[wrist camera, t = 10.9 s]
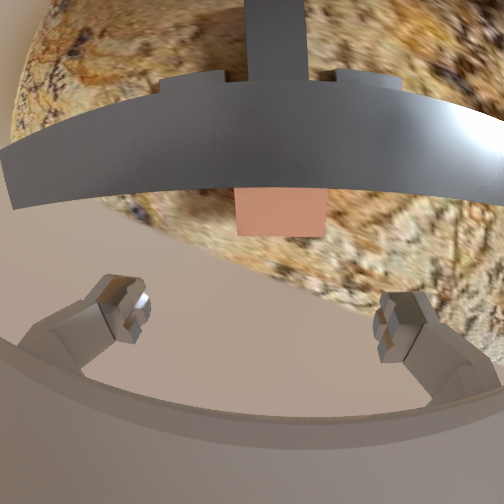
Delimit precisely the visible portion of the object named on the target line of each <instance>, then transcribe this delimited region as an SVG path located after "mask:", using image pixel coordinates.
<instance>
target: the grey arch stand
mask: <svg viewBox="0 0 504 504" xmlns="http://www.w3.org/2000/svg"><path fill="white" fill-rule="evenodd" d="M159 85H160V93H155V94H150V95H146V96H142V97H137V98H133V99H129V100H125V101H122V102H118V103H114V104H111V105H108V106H104V107H101V108H98V109H95V110H92V111H89V112H86V113H83V114H80V115H77V116H74V117H72V118H69V119H66V120H64V121H61V122H59V123H56V124H54V125H51V126H49V127H47V128H44V129H42V130H40V131H37V132H35V133H33V134H31V135H29V136H27V137H25V138H23V139H21V140H19V141H17V142H15V143H13V144H11V145H9V146H7V147H5V148H3V149H1V150H0V159H1V164H2V169H3V173H4V177H5V182H6V186H7V190H8V193H9V197H10V200H11V203H12V207H13V210H15V209H20V208H26V207H31V206H37V205H43V204H50V203H56V202H63V201H70V200H77V199H86V198H94V197H103V196H112V195H122V194H133V193H145V192H158V191H173V190H191V189H214V188H264V187H278V188H328V189H351V190H368V191H383V192H395V193H407V194H417V195H427V196H436V197H445V198H452V199H460V200H467V201H474V202H481V203H487V204H493V205H499V206H504V122H503V121H500V120H498V119H495V118H493V117H490V116H488V115H485V114H483V113H480V112H477V111H474V110H471V109H468V108H465V107H462V106H459V105H456V104H453V103H449V102H446V101H442V100H439V99H435V98H431V97H427V96H423V95H418V94H414V93H409V92H404V91H402V78H401V77H396V76H390V75H385V74H379V73H373V72H366V71H358V70H350V69H340V68H336V69H334V82H330V81H312V80H260V81H242V82H229V83H228V75H227V70H225V69H222V70H213V71H205V72H198V73H192V74H186V75H180V76H175V77H170V78H165V79H160V80H159Z"/></svg>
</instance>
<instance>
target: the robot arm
mask: <svg viewBox="0 0 504 504" xmlns="http://www.w3.org/2000/svg"><path fill="white" fill-rule="evenodd" d="M145 289H146V286H145V284H144V280H142V279H141V278H136V277H129V276H121V275H112V274H107V275H104V276H103V277H102V278H101V280H100V281H99V282H98V283H97V284H96V285H95V287H94V288H93V289H92V290H91V291H90V293H89V294H88V295H87V296H86V298H85V299H84V300H79V301H77V302H75V303H73V304H71V305H69V306H67V307H65V308H63V309H61V310H59V311H58V312H56V313H54V314H52V315H50V316H48V317H46V318H44V319H43V320H41V321H39V322H37V323H35V324H33V326H32V327H31V328H30V329H29V331H28V332H27V333H26V335H25V336H24V337H23V338H22V340H21V341H20V343H19V344H18V345H17V346H15V345H14V344H12V343H10V342H8V341H6V340H5V339H3V338H1V337H0V504H504V386H502V385H501V383H500V381H499V378H498V376H497V373H496V371H495V369H494V367H493V364H492V362H491V360H490V358H489V357H487V356H486V355H485V354H484V353H482V352H481V351H480V350H479V349H477V348H476V347H475V346H474V345H472V344H471V343H470V342H469V341H467V340H466V339H465V338H463V337H462V336H461V335H459V334H458V333H457V332H456V331H454V330H453V329H452V328H450V327H449V326H448V325H446V324H445V323H440V321H439V319H438V317H437V315H436V313H435V311H434V309H433V307H432V305H431V303H430V301H429V299H428V298H427V296H426V294H425V293H424V292H423V291H410V292H383V294H382V295H381V298H380V301H379V302H380V305H381V307H380V308H379V309H378V310H377V311H376V313H375V316H374V320H373V332H374V337H375V339H377V340H378V341H379V342H380V343H379V345H378V348H377V349H378V353H379V357H380V361H381V363H398V362H403V364H404V365H405V366H406V368H407V369H408V370H409V371H410V372H411V373H412V374H413V376H414V377H415V378H416V379H417V380H418V381H419V383H420V384H421V385H422V386H423V387H424V389H425V390H426V391H427V392H428V393H429V394H430V396H431V397H432V398H433V399H432V400H431V401H430V402H429V403H428V404H427V405H426V406H425V407H423V408H417V409H411V410H405V411H398V412H390V413H382V414H372V415H360V416H344V417H282V416H264V415H253V414H242V413H234V412H225V411H218V410H211V409H204V408H199V407H193V406H188V405H182V404H178V403H173V402H168V401H164V400H159V399H156V398H152V397H147V396H144V395H140V394H136V393H132V392H129V391H126V390H122V389H119V388H116V387H113V386H110V385H107V384H104V383H101V382H98V381H95V380H92V379H89V378H87V377H86V376H85V375H84V374H83V373H82V371H81V370H80V369H81V368H82V367H84V366H85V365H86V364H87V363H89V362H90V361H91V360H93V359H94V358H95V357H96V356H98V355H99V354H100V353H102V352H103V351H104V350H105V349H107V348H108V347H109V346H111V345H112V344H113V343H114V342H115V341H119V342H124V343H130V344H135V343H136V341H137V339H138V337H139V335H140V334H141V332H142V330H141V326H142V325H143V324H145V323H146V322H147V321H148V319H149V317H150V311H151V303H150V300H149V297H148V296H147V295H146V294H145V293H144V290H145Z"/></svg>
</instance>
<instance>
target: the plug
mask: <svg viewBox="0 0 504 504" xmlns="http://www.w3.org/2000/svg"><path fill="white" fill-rule="evenodd" d="M244 8H245V26H246V44H247V62H248V81H260V80H309V76H308V53H307V36H306V22H305V10H304V0H244ZM327 193H328V188H278V187H264V188H234V196H235V209H236V222H237V234H238V236H286V237H324V233H325V221H326V208H327Z"/></svg>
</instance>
